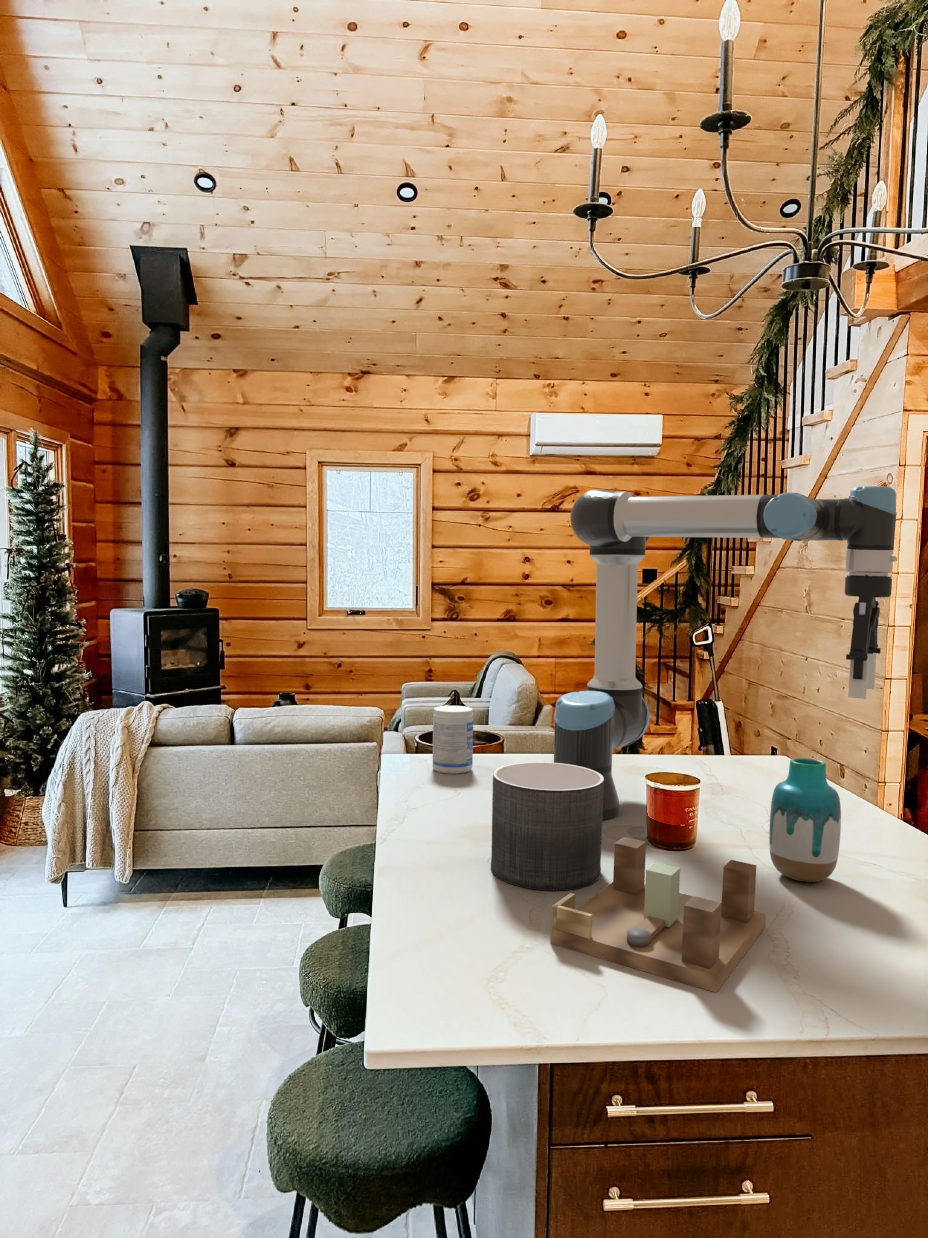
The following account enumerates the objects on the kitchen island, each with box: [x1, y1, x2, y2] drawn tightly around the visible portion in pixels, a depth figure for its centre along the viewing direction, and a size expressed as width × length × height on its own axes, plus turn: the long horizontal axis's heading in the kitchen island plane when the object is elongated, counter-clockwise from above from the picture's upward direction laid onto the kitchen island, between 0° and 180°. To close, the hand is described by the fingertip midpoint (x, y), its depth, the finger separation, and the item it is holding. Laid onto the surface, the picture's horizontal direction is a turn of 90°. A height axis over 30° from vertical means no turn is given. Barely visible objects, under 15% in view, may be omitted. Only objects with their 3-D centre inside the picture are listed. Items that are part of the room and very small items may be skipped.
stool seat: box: [549, 836, 767, 994], centre depth 115 cm, size 22×22×9 cm
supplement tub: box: [432, 705, 474, 775], centre depth 203 cm, size 10×10×15 cm
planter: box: [490, 761, 604, 891], centre depth 138 cm, size 18×18×16 cm
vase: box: [768, 757, 842, 883], centre depth 137 cm, size 11×11×19 cm
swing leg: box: [627, 862, 681, 946], centre depth 112 cm, size 4×11×7 cm, turn 147°
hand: (861, 693), depth 154 cm, fingers open, 13 cm apart
